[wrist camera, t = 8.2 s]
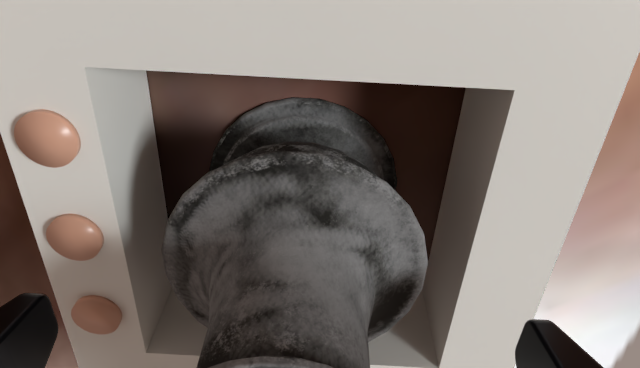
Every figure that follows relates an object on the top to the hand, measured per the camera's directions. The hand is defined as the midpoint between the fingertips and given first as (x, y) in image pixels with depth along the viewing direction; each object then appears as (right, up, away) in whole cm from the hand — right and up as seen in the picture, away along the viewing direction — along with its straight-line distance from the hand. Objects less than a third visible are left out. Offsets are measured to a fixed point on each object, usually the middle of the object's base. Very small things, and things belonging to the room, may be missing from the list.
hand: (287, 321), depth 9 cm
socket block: (0, +3, +5) cm, 5 cm away
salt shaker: (0, +3, +5) cm, 6 cm away
